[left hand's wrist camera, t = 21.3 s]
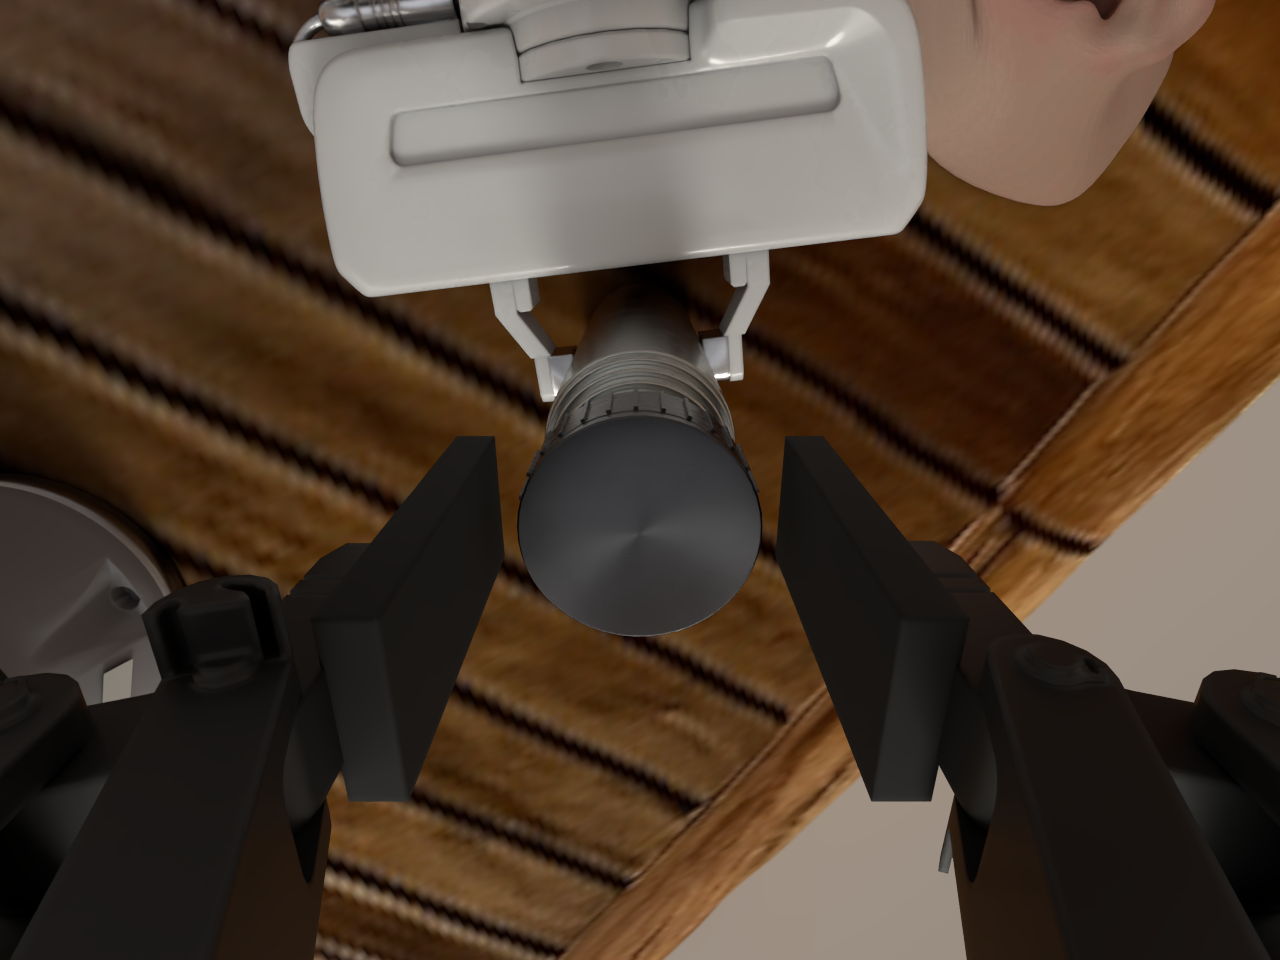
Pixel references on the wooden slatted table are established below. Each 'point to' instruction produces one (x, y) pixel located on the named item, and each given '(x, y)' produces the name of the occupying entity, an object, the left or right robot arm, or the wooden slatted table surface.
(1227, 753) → the left robot arm
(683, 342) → the bottle
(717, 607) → the cap
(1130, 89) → the anatomical model
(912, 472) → the wooden slatted table surface
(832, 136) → the right robot arm
